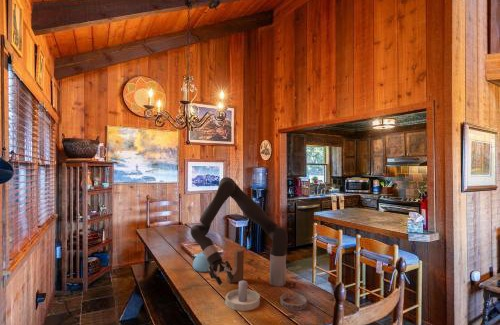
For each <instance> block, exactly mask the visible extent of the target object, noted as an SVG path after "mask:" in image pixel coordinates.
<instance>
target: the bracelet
mask: <svg viewBox="0 0 500 325" xmlns="http://www.w3.org/2000/svg"><path fill="white" fill-rule="evenodd" d="M296 298H297V299H296ZM287 299H288V293H283V294H282V295H280V299H279V300H280V302H279V303H280V306H282V307H283V306H284V307H285V308H284V307H283V308H284V309H286V308H287V310H290V309H291V310H290V311H302V309H303V310H305V309H307V307H308V299H307V297H306V296H304V295H302V294H300V293H297V292H295V293H294V299H296V300H300V301H302V303H300V304H293V303H289V302H286V301H284V300H287ZM304 302H305V303H304Z"/></svg>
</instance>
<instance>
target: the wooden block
mask: <svg viewBox="0 0 500 325" xmlns="http://www.w3.org/2000/svg"><path fill="white" fill-rule="evenodd" d="M233 255H234V256H233V267H232V269H233V270H232V271H231V273H232V275H233V279H232V280H230V278H229V277H228V274H227V273H226V282H228V283H229V284H234V283H239V281H242V280H244V268H245V266H244V260H245V259H244V257H245V256H244V255H245V251H244V250H243V249H241V248H239V249H234V251H233Z"/></svg>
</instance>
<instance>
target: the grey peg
mask: <svg viewBox="0 0 500 325" xmlns="http://www.w3.org/2000/svg"><path fill="white" fill-rule="evenodd" d="M238 289H239V296H238V300H239V301H240V302H246V301H247V289H248V281H247V280H244V279H243V280H242V281H239V282H238Z"/></svg>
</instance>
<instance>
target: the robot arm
mask: <svg viewBox="0 0 500 325" xmlns="http://www.w3.org/2000/svg"><path fill="white" fill-rule="evenodd" d="M229 198H231V199H232V200H233V201H234V202H235V203H236V205H237V206H238V208H239V209H240V210H241V211H242V213H243V215H245V216H246V217H247V218H248V219H249V220H250V221H251V222H253V223H254V224H256V225H257V226H259V227H260V228H261V229H263V231H264V232H265V234H267V236H268V237H269V238H270V239H271V242H272V243H271V248H270V250H269V284H270V285H271V286H274V287H283V286H286V283H287V266H286V264H287V263H286V262H287V258H286V257H287V254H286V253H287V251H288V236H289V235H288V231H287V230H286V229H285V228H283V227H281V226H280V225H278V224H277V223H276V222H274V221H273V220H272V219H270V217H269V216H268V214H267V213H266V211H265V210H264V209H263V208H262V207H261V206H260V205H259V204H258V203H257V202H256V201H255V200H253V199H252V198H251V197H250V196H249V195H248V194H247V193H245V192H244V191H243V190H242V189H241V188H240V187H239V185H238V184H237V183H236V182H235V181H234V179H233V178H230V177H228V176H227V177H226V176H225V177H223V178H221V179H220V181H219V183H218V187H217V191H216V193H215V195H214V197H213V199H212V200H211V201H210V203H209V204H207V205H208V206H207V207H206V208H205V209H204V211H203V213H202V214H201V216H200V218H199V221H200V222H201V224H195V225H192V226H191V227H190V236H191V237H192V239H193V240H194V241H195V242H196V244H198V245H199V247H200V249H201V250H202V251H203V253H204V255H205V257H206V259H207V261H208V263H209V265H210V267H209V268H208V269H207V270H208V272H207V273H208V274H209V276H210V278H211V280H213V279H214V280H215V281H216V283H217V284H218V285H219V286H221V285H222V284H223V281H222V280H221V278H220V276H219V274H220V273H225V274H226V275H227V274H228V277H229V278H230V280H232V279H233V275H232V273H231V272H232V270H233V267H232V265H231V264H230V262H229V260H226V261H223V258H222V256H221V254H220V252H219V250H218V248H217V247H216V246H215V244H214V243H213V241H212V239H211V237H208V236H207V235H208V234H209V231H210V229H211V225H212V223H213V221H214V220H215V218H216V217H217V215H218V213H219V211H220V210H221V208H222V206H223V205H224V204H225V202H226V201H227V200H228V199H229ZM202 251H201V252H202Z"/></svg>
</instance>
